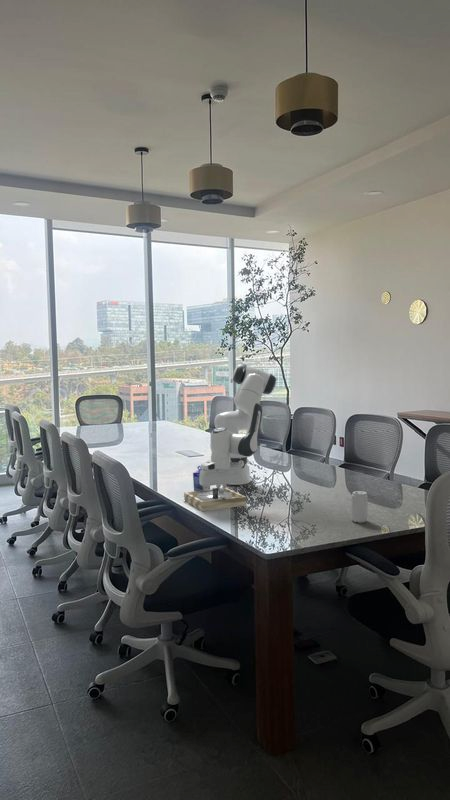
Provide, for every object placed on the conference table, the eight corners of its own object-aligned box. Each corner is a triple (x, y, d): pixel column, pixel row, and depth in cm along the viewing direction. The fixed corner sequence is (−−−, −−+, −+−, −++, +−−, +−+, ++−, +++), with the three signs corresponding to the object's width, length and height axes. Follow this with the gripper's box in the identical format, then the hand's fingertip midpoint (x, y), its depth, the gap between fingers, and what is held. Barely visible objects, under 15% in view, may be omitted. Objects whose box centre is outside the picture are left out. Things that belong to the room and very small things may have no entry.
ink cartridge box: (200, 492, 298) (200, 464, 297) (210, 493, 296) (210, 464, 295) (193, 497, 288) (192, 467, 287) (203, 497, 287) (203, 468, 286)
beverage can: (349, 519, 244) (349, 490, 243) (364, 518, 244) (364, 490, 244) (354, 523, 238) (354, 494, 237) (369, 523, 238) (369, 493, 237)
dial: (196, 494, 283) (196, 482, 282) (230, 493, 284) (230, 481, 284) (197, 503, 266) (197, 489, 266) (234, 501, 268) (233, 488, 267)
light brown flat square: (184, 500, 281) (184, 491, 280) (226, 495, 290) (226, 487, 290) (201, 511, 261) (201, 501, 261) (246, 505, 270) (246, 496, 270)
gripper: (238, 460, 275) (239, 489, 276) (197, 464, 267) (198, 494, 268) (244, 462, 269) (245, 492, 270) (202, 466, 261) (203, 497, 262)
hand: (221, 493), depth 269 cm, fingers closed
